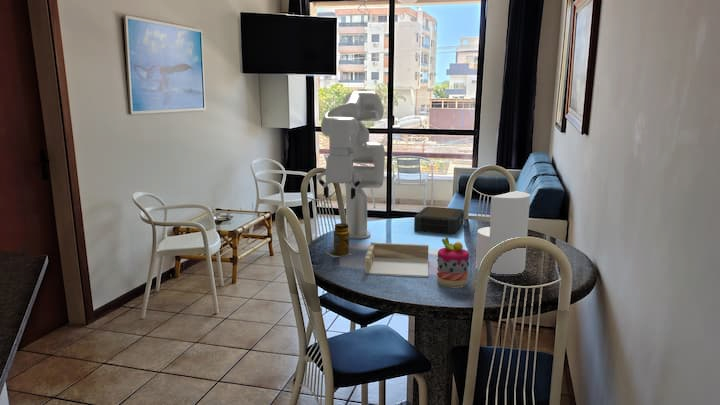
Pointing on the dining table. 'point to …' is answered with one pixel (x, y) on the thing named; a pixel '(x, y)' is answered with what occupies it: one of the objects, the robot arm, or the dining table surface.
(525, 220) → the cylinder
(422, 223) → the cash box
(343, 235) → the condiment
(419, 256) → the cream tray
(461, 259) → the cake
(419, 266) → the mat
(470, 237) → the dining table surface
